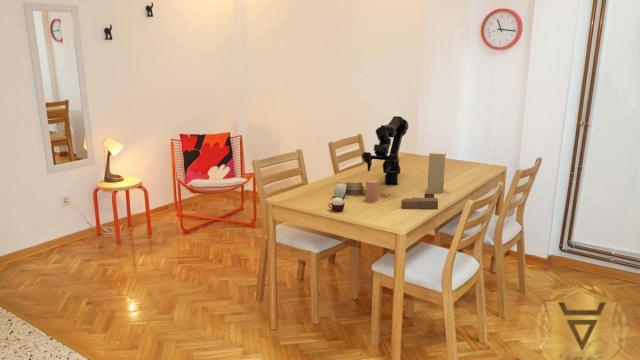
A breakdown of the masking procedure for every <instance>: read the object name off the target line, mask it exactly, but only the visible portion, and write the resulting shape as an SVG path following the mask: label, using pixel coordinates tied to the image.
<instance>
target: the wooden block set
mask: <svg viewBox="0 0 640 360" xmlns="http://www.w3.org/2000/svg"><path fill="white" fill-rule="evenodd" d="M400 207H401V209H410V210H411V209H413V210H414V209H418V210H438V209H439V199H438V197H435V192H433V191H427V190H426V191H425V192H424V197H412V198H403V199H401V206H400Z"/></svg>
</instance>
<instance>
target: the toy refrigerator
mask: <svg viewBox="0 0 640 360" xmlns="http://www.w3.org/2000/svg"><path fill="white" fill-rule="evenodd" d="M428 154H429V155H428V170H427V171H428V172H427V187H426V191H433V192H434V194H435V193H436V194H442V193H443V192H444V186H445V184H444V183H445V172H446V171H445V170H446V158H447V157H446V151H436V150H430V151H429V153H428Z"/></svg>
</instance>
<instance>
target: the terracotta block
mask: <svg viewBox="0 0 640 360" xmlns="http://www.w3.org/2000/svg"><path fill="white" fill-rule="evenodd" d="M379 182H380V181H379V180H375V179H368V180H367V181H366V182H365V202H369V203H370V202H371V203H377V201H378V200H379V186H380V185H379V184H380V183H379Z"/></svg>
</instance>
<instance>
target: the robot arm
mask: <svg viewBox="0 0 640 360" xmlns="http://www.w3.org/2000/svg"><path fill="white" fill-rule="evenodd" d="M389 121H390V122H388V123H387V124H381V125H380V126H379V127H377V128H376V129H375V135H376V138H377V140H378V141H379V142H378V144H374V147H373V151H374V154H372V152H367V151H366V152H365V151H364V152H363V153H362V154H361V157H362V159H363V162H365V163H366V166H367V172H370V171H371V167H372V162H373V160H378V161H379V160H380V161H383V162H382V173H384V183H385V184H386V185H387V186H389V185H392V186H393V185H399V183H398V176H399V175H400V174H401V167H400V157H399V153H400V152H399V151H400V148H401V143H402V140H403V137H404V136H405V135H406V134H407V131H408V129H409V123H408V122H409V121H407V120H406V119H405V118H403V116H397V115H395V116H393V117H392V119H391V120H389ZM392 138H393V140H392ZM390 146H391V148H390ZM389 150H390V151H389Z"/></svg>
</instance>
